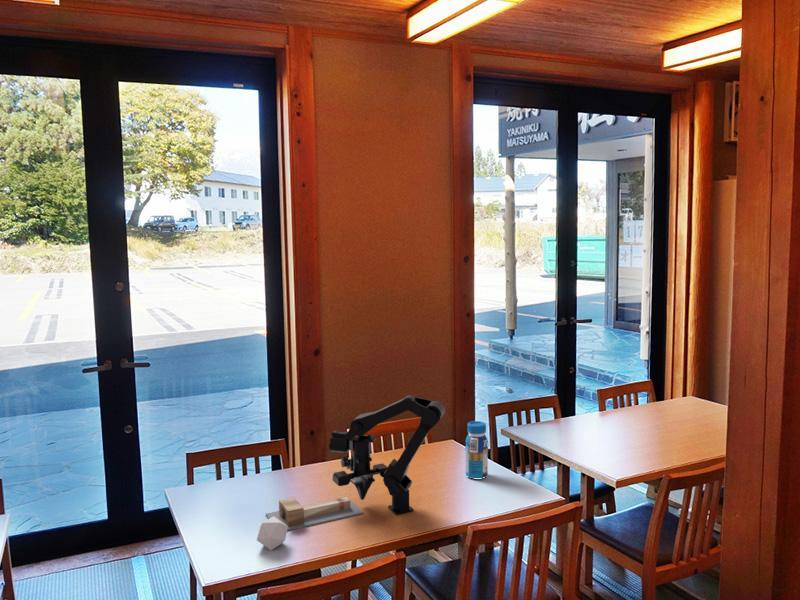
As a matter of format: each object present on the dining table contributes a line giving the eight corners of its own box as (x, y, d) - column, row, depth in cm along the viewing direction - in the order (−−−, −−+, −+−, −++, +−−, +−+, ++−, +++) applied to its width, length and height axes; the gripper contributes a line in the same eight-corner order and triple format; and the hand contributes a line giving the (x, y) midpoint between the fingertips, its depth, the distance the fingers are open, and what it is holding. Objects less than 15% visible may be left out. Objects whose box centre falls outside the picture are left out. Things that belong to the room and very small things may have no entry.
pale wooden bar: (350, 508, 214) (350, 500, 214) (297, 520, 206) (297, 511, 206) (346, 505, 217) (346, 496, 217) (294, 516, 209) (294, 508, 208)
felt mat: (363, 513, 212) (363, 512, 211) (278, 532, 199) (278, 531, 199) (346, 498, 224) (346, 496, 224) (265, 515, 211) (265, 513, 211)
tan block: (304, 523, 204) (303, 507, 203) (288, 526, 201) (288, 511, 201) (294, 512, 212) (294, 497, 211) (279, 515, 210) (278, 500, 209)
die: (291, 551, 189) (294, 516, 194) (270, 546, 183) (273, 511, 188) (271, 554, 193) (274, 520, 198) (249, 550, 187) (253, 515, 192)
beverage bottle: (460, 474, 244) (460, 422, 242) (479, 470, 248) (479, 419, 246) (473, 482, 237) (473, 428, 235) (492, 478, 241) (493, 424, 239)
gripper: (376, 442, 227) (377, 485, 229) (325, 451, 219) (326, 496, 220) (391, 451, 218) (391, 497, 219) (338, 461, 209) (339, 508, 211)
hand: (362, 499), depth 218 cm, fingers closed
